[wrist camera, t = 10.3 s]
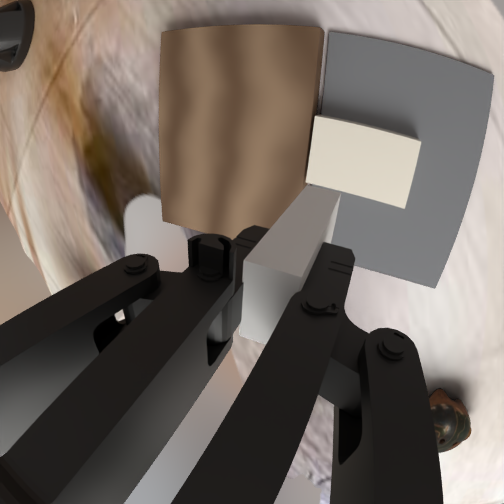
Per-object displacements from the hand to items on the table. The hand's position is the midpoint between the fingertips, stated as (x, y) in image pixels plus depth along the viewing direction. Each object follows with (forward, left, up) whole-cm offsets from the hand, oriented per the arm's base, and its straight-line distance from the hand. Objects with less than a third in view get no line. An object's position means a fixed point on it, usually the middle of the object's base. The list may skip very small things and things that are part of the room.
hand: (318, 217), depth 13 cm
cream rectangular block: (+1, 0, -15) cm, 15 cm away
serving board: (-12, 0, -16) cm, 20 cm away
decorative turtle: (+22, -30, -16) cm, 41 cm away
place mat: (+4, 0, -16) cm, 16 cm away
